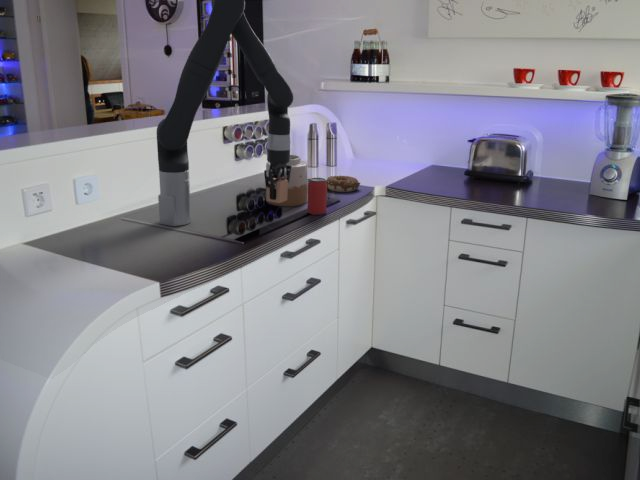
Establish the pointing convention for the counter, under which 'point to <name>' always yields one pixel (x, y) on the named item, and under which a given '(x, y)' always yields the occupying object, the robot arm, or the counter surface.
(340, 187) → the donut
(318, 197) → the beer can
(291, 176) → the vase
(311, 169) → the counter surface
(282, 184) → the block
